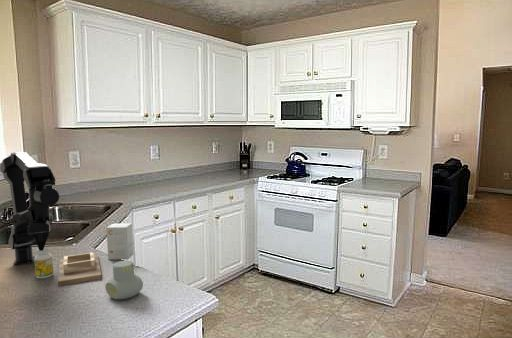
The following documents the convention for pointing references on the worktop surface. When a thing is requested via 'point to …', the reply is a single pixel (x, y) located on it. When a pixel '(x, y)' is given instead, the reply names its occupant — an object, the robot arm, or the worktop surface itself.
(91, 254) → the socket board
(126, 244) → the small box
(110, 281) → the pale green rounded piece
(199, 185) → the worktop surface
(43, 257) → the supplement bottle
